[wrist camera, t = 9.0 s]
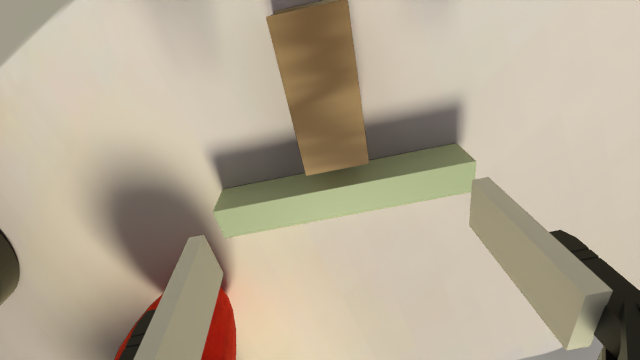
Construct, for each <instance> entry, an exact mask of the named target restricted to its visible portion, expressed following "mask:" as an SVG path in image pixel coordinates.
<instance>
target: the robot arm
mask: <svg viewBox="0 0 640 360" xmlns="http://www.w3.org/2000/svg"><path fill="white" fill-rule="evenodd" d="M469 226H470V227H471V228H472V229H473V231H474V232H475V233H476V235H477V236H478V237H479V239H480V240H481V241H482V242H483V244H484V245H485V246H486V248H487V249H488V250H489V251H490V253H491V254H492V255H493V257H494V258H495V259H496V260H497V262H498V263H499V264H500V266H501V267H502V268H503V269H504V271H505V272H506V273H507V275H508V276H509V277H510V278H511V280H512V281H513V282H514V284H515V285H516V286H517V287H518V289H519V290H520V291H521V293H522V294H523V295H524V296H525V298H526V299H527V300H528V302H529V303H530V304H531V306H532V307H533V308H534V309H535V311H536V312H537V313H538V315H539V316H540V317H541V318H542V320H543V321H544V322H545V324H546V325H547V326H548V327H549V329H550V330H551V331H552V333H553V334H554V335H555V336H556V338H557V339H558V340H559V342H560V343H561V344H562V345H563V347H564V348H565V349H566V350H571V349H576V348H582V347H587V346H590V344H591V342H592V339H593V337H594V335H595V336H596V337H597V339H598V340H599V341H600V342H601V343H602V344H603V345H604V346H603V348H602V351H601V353H600V355H599V357H598V359H597V360H640V290H638V289H637V288H636V287H634V286H633V285H632V284H631V283H630V282H629V281H627V280H626V279H625V278H624V277H623V276H621V275H620V274H619V273H618V272H617V271H615V270H614V269H613V268H612V267H611V266H609V265H608V264H607V263H606V262H605V261H604V260H602V259H601V258H599V257H598V255H596V254H595V253H594V252H593V251H592V250H589V249H588V247H587V246H586V245H584V244H583V243H582V242H581V241H580V240H579V239H577V238H576V237H574V236H572V235H570V234H568V233H566V232H564V231H562V230H558V231H553V232H548V231H547V230H546V229H545V228H544V227H543V226H541V225H540V224H539V223H538V222H537V221H536V220H535V219H534V218H533V217H532V216H530V215H529V214H528V213H527V212H526V211H525V210H524V209H523V208H522V207H521V206H519V205H518V204H517V203H516V202H515V201H514V200H513V199H512V198H511V197H510V196H509V195H507V194H506V193H505V192H504V191H503V190H502V189H501V188H500V187H499V186H498V185H496V184H495V183H494V182H493V181H492V180H491V179H490V178H489V177H486V178H481V179H476V180H472V188H471V205H470V222H469ZM223 274H224V273H223V271H222V269H221V267H220V265H219V263H218V261H217V259H216V257H215V255H214V254H213V252H212V250H211V248H210V246H209V244H208V242H207V240H206V238H205V236H204V235H199V236H194V237H189V238H188V241H187V243H186V245H185V247H184V249H183V252H182V254H181V256H180V258H179V260H178V263H177V265H176V267H175V269H174V271H173V274H172V276H171V278H170V280H169V282H168V285H167V287H166V289H165V291H164V293H163V296H162V298H161V300H160V302H159V304H158V307H157V309H154V310H149V311H147V312H146V313H145V314H144V315H143V316H142V317H141V319H140V320H139V321H138V322H137V324H136V326H135V328H134V330H133V332H132V334H131V338H129V340H128V342H127V344H126V346H125V349H124V350H123V352H122V354H121V356H120V358H119V360H201V357H202V353H203V350H204V346H205V342H206V338H207V335H208V331H209V327H210V323H211V319H212V316H213V312H214V308H215V304H216V301H217V297H218V293H219V289H220V286H221V282H222V278H223ZM18 281H19V265H18V261H17V258H16V256H15V254H14V252H13V250H12V248H11V247H10V245H9V243H8V242H7V241H6V239H5V238H4V237H3V236H2V234H1V233H0V305H1V304H2V303H3V302H4V301H5V300H6V299H7V298H8V297H9V296H10V295H11V294H12V293H13V291H14V290H15V288H16V287H17V284H18Z"/></svg>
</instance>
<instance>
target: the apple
mask: <svg viewBox="0 0 640 360" xmlns="http://www.w3.org/2000/svg"><path fill="white" fill-rule="evenodd" d="M162 296H163V294H162V295H161V296H160V297H159V298H158V299H157V300H156V301H155V302H154V303H153V304H152V305H151V306H150V307H149V308H148V309H147V310H146V311H145V313H146V312H147V311H149V310H154V309H157V307H158V304H159V302H160V300H161V298H162ZM145 313H144V314H145ZM144 314H143V315H144ZM143 315H142V316H143ZM142 316H141V317H142ZM141 317H140V318H139V320H140V319H141ZM139 320H138V321H139ZM138 321H137V322H138ZM136 324H137V323H136ZM136 324H135V325H134V327H133V328H132V329H131V331H130V332H129V334H128V336H127V337H126V339H125V340H124V342H123V343H122V345H121V346H120V348H119V350H118V352H117V355H116V357H115V359H114V360H119V358H120V356H121V354H122V352H123V350H124V349H125V346H126V344H127V342H128V340H129V338H131V334H132V332H133V330H134V328H135V326H136ZM201 360H236V327H235V321H234V314H233V309H232V306H231V304H230V301H229V298H228V296H227V295H226V293H225V292H224V290H223V289H222V288H221V286H220V289H219V293H218V297H217V301H216V304H215V308H214V312H213V316H212V319H211V323H210V327H209V331H208V335H207V338H206V342H205V346H204V350H203V353H202V357H201Z"/></svg>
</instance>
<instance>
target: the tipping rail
mask: <svg viewBox="0 0 640 360" xmlns="http://www.w3.org/2000/svg"><path fill="white" fill-rule="evenodd" d="M475 171H476V161H475V160H474V159H473V158H472V157H471V156H470V155H469V154H468V153H467V152H466V151H465V150H463V149H462V148H461V147H460V146H459V145H458V144H457V143H455V144H450V145H445V146H440V147H435V148H430V149H425V150H420V151H415V152H410V153H404V154H399V155H394V156H389V157H384V158H379V159H374V160H369V164H364V165H359V166H354V167H349V168H344V169H339V170H334V171H328V172H323V173H318V174H313V175H308V176H306V174H305V173H303V174H298V175H293V176H288V177H283V178H278V179H273V180H268V181H263V182H258V183H252V184H247V185H242V186H237V187H232V188H227V189H223V190H222V192H221V195H220V197H219V199H218V201H217V204H216V206H215V208H214V211H213V213H214V215H215V218H216V220H217V222H218V224H219V226H220V229H221V231H222V233H223V235H224V237H225V238H229V237H234V236H240V235H245V234H250V233H256V232H261V231H266V230H271V229H277V228H282V227H287V226H293V225H298V224H303V223H309V222H314V221H319V220H325V219H330V218H335V217H341V216H346V215H351V214H357V213H362V212H367V211H373V210H378V209H383V208H389V207H394V206H399V205H405V204H410V203H415V202H421V201H426V200H431V199H437V198H442V197H447V196H453V195H458V194H463V193H469V192H471V188H472V180H475Z"/></svg>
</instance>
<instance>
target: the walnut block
mask: <svg viewBox="0 0 640 360" xmlns="http://www.w3.org/2000/svg"><path fill="white" fill-rule="evenodd" d="M266 19H267V23H268V27H269V31H270V35H271V39H272V43H273V46H274V50H275V54H276V58H277V62H278V66H279V70H280V74H281V78H282V82H283V86H284V90H285V94H286V98H287V102H288V106H289V110H290V114H291V118H292V122H293V126H294V130H295V134H296V138H297V142H298V146H299V150H300V154H301V158H302V162H303V166H304V170H305V174H306V176H308V175H313V174H318V173H323V172H328V171H334V170H339V169H344V168H349V167H354V166H359V165H364V164H369V159H368V151H367V144H366V136H365V129H364V121H363V113H362V106H361V98H360V91H359V83H358V76H357V68H356V60H355V53H354V45H353V38H352V30H351V23H350V15H349V7H348V0H322V1H318V2H314V3H309V4H305V5H301V6H296V7H292V8H287V9H283V10H279V11H275V12H274V15H271V16H268V17H266Z"/></svg>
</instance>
